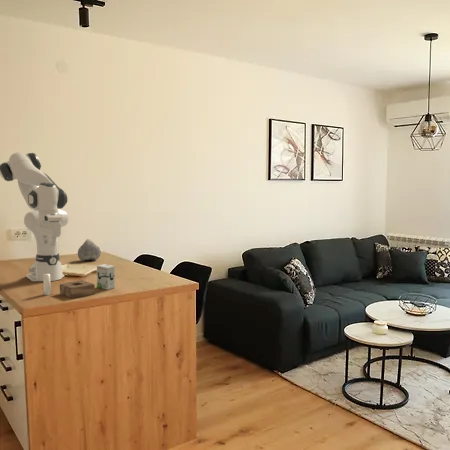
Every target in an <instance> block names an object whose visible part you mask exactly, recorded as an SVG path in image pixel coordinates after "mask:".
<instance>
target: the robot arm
mask: <svg viewBox="0 0 450 450" xmlns="http://www.w3.org/2000/svg"><path fill="white" fill-rule="evenodd" d="M41 168H42V162H41V159H40V157H39V156H38V155H37V154H36V153H34V152H30V153H26V154H24V153H23V152H14V153H12V154H11V155H10V157H9V159H8V160H7V161H5V162H3V163H0V177H1V178H2V179H3V180H4V181H6V182H13V181H14V180H17V185H18V188H19V191H20V193H21V195H22V198H23V199H24V201H25V203H26V204H27V207H28V208H29V209H31V211H28V212H26V214H25V215H24V219H23V223H24V226H25V227H26V228H27V229H28V230H29V231H30V232H31V233H32V234H33V236H34V238H35V242H36V254H35V261H34V262H33V264H32V265H31V266H30V267H29V268H28V271H29V273H28V274H26V275H25V277H26V278H27V279H29V280H30V281H31V282H43V274H50V282H53V281H59V280H61V279H62V278H64V277H65V274H64V273H63V268H62V267H63V266H62V262H61V261H60V252H59V241H58V238H59V237H61V235H62V234H61V233H62V228H63V227H65V226H67V224H68V223H69V215H68V213H67V212H66V210H64V209H63V208H64V207H65V206H66V205H67V203H68V195H67V193H66V192H65V190H63V189H62V188H61V187H59V186H58V185H57V184H56V182H55V181H54V180H53V179H51V177H50V176H49V175H48V174H47V173H45V172H44V171H41ZM32 210H33V211H32Z"/></svg>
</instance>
